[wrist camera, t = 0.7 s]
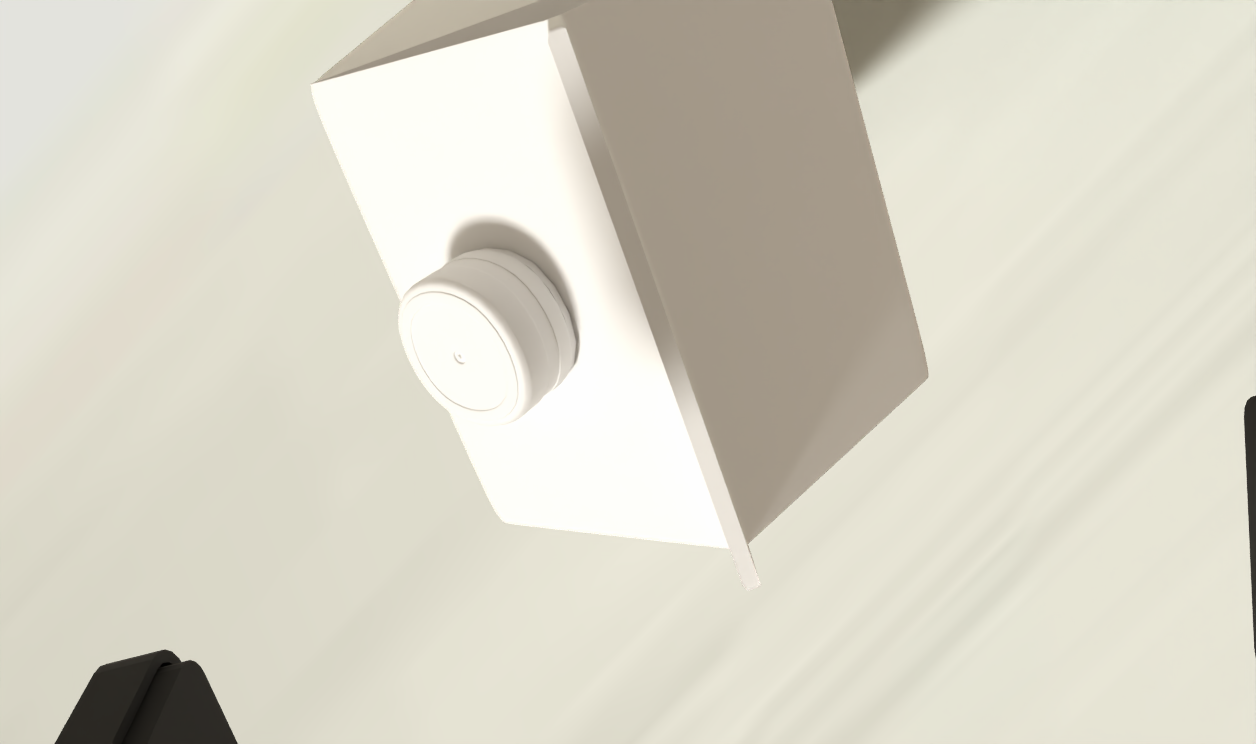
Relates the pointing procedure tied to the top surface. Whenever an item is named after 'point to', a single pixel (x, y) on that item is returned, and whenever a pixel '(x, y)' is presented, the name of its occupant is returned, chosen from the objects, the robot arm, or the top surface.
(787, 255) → the milk carton
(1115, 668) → the top surface
